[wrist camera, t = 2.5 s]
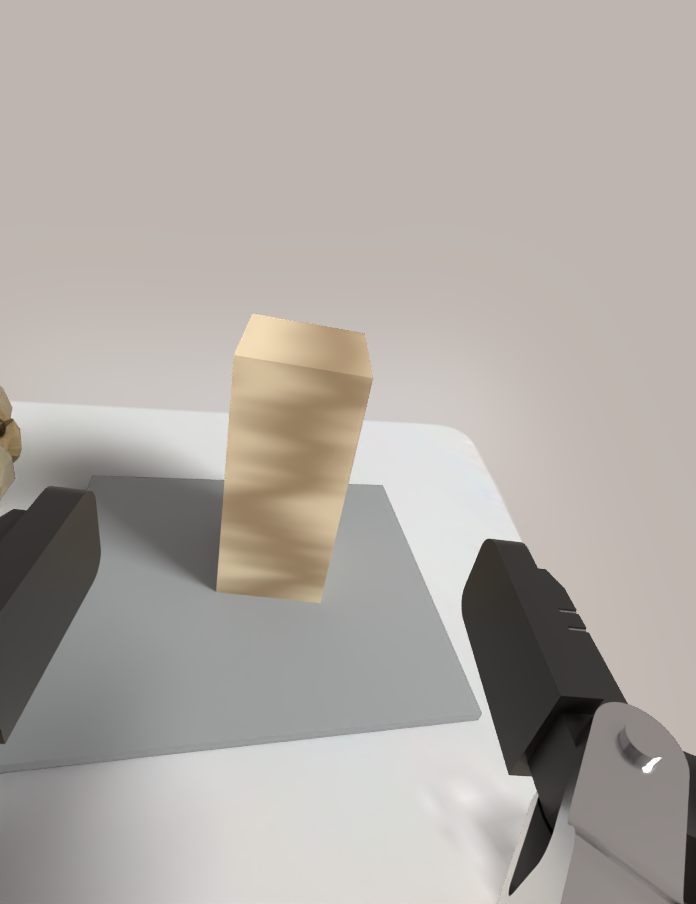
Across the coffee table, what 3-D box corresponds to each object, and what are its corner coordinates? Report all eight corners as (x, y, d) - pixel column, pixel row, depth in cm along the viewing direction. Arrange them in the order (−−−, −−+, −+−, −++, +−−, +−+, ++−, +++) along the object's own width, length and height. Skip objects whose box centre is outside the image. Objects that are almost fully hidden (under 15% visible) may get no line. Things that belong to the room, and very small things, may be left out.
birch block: (216, 591, 24) (234, 355, 17) (233, 523, 28) (252, 313, 22) (320, 602, 24) (373, 378, 18) (321, 534, 28) (364, 333, 22)
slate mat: (-13, 774, 16) (-16, 766, 16) (93, 482, 29) (92, 475, 29) (477, 719, 21) (481, 713, 21) (380, 490, 34) (382, 485, 34)
